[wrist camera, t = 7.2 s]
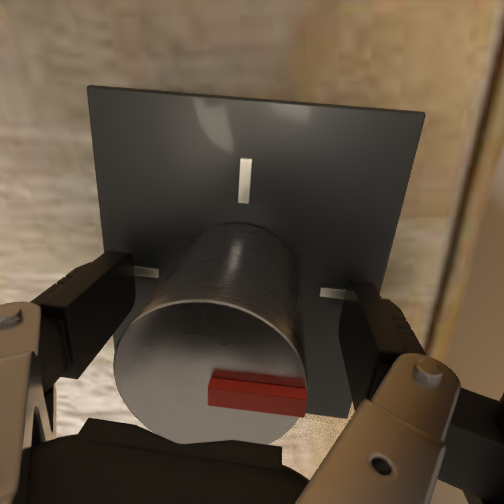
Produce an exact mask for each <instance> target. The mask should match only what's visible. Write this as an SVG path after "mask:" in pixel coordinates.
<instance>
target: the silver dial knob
mask: <svg viewBox="0 0 504 504" xmlns="http://www.w3.org/2000/svg"><path fill="white" fill-rule="evenodd" d="M113 367H114V377H115V382H116V385H117V388H118V391H119V393H120V395H121V397H122V399H123V401H124V403H125V404H126V405H127V407H128V408H129V410H130V411H131V412H132V413H133V414H134V415H135V417H136V418H137V419H138V420H139V421H140V422H142V423H143V424H144V425H145V426H146V427H147V428H149V429H150V430H152V431H153V432H154V433H156V434H158V435H159V436H162V437H164V438H166V439H169V440H171V441H173V442H176V443H179V444H190V443H201V442H212V441H224V440H239V441H246V442H252V443H259V444H265V445H268V444H270V443H272V442H274V441H275V440H277V439H279V438H280V437H282V436H283V435H284V434H285V433H286V432H288V431H289V430H290V429H291V427H292V426H293V425H294V424H295V423H296V421H297V420H298V418H299V417H302V418H303V417H304V416H305V411H306V405H307V399H308V398H307V395H308V376H307V362H306V349H305V335H304V321H303V308H302V294H301V280H300V272H299V268H298V265H297V262H296V260H295V258H294V256H293V254H292V253H291V251H290V250H289V249H288V247H287V246H286V245H285V244H284V243H283V242H282V241H281V240H280V239H278V238H277V237H276V236H274V235H273V234H271V233H270V232H268V231H266V230H264V229H261V228H259V227H256V226H252V225H248V224H241V223H230V224H223V225H218V226H215V227H212V228H210V229H207V230H206V231H204V232H202V233H200V234H199V235H198V236H196V237H195V238H194V239H193V240H192V241H191V242H190V243H189V245H188V246H187V247H186V249H185V250H184V251H183V253H182V254H181V255H180V257H179V258H178V259H177V261H176V262H175V263H174V265H173V266H172V267H171V269H170V270H169V272H168V273H167V274H166V276H165V277H164V278H163V280H162V281H161V282H160V284H159V285H158V286H157V288H156V289H155V290H154V292H153V293H152V294H151V296H150V297H149V299H148V300H147V301H146V303H145V304H144V305H143V307H142V308H141V309H140V311H139V312H138V313H137V315H136V316H135V317H134V319H133V320H132V321H131V323H130V324H129V326H128V327H127V328H126V330H125V331H124V332H123V334H122V335H121V337H120V339H119V341H118V343H117V347H116V350H115V354H114V363H113Z"/></svg>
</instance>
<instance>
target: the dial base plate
mask: <svg viewBox="0 0 504 504" xmlns="http://www.w3.org/2000/svg"><path fill="white" fill-rule="evenodd" d="M87 95H88V104H89V114H90V123H91V133H92V142H93V151H94V161H95V170H96V180H97V189H98V199H99V208H100V217H101V227H102V236H103V246H104V253H105V252H106V251H108V250H111V251H119V252H128V253H131V254H132V255H133V258H134V270H135V288H136V298H135V303H134V306H133V309H132V310H131V312H130V313H129V314H128V316H127V317H126V318H125V320H124V321H123V322H122V323H121V325H120V326H119V327H118V328H117V330H116V331H115V332H114V334H113V340H114V349H115V350H116V347H117V343H118V341H119V339H120V337H121V335H122V334H123V332H124V331H125V330H126V328H127V327H128V326H129V324H130V323H131V321H132V320H133V319H134V317H135V316H136V315H137V313H138V312H139V311H140V309H141V308H142V307H143V305H144V304H145V303H146V301H147V300H148V299H149V297H150V296H151V294H152V293H153V292H154V290H155V289H156V288H157V286H158V285H159V284H160V282H161V281H162V280H163V278H164V277H165V276H166V274H167V273H168V272H169V270H170V269H171V267H172V266H173V265H174V263H175V262H176V261H177V259H178V258H179V257H180V255H181V254H182V253H183V251H184V250H185V249H186V247H187V246H188V245H189V243H190V242H191V241H192V240H193V239H194V238H195V237H196V236H198V235H199V234H200V233H202V232H204V231H206V230H207V229H210V228H212V227H215V226H218V225H223V224H230V223H241V224H248V225H252V226H256V227H259V228H261V229H264V230H266V231H268V232H270V233H271V234H273V235H274V236H276V237H277V238H278V239H280V240H281V241H282V242H283V243H284V244H285V245H286V246H287V247H288V249H289V250H290V251H291V253H292V254H293V256H294V258H295V260H296V262H297V265H298V268H299V272H300V280H301V294H302V308H303V321H304V335H305V349H306V362H307V376H308V395H307V398H308V399H307V405H306V411H305V413H308V414H315V415H322V416H330V417H337V418H344V419H346V418H348V414H349V411H350V407H351V403H352V396H351V392H350V387H349V383H348V378H347V374H346V369H345V365H344V360H343V356H342V351H341V347H340V342H339V336H338V327H339V320H340V315H341V311H342V306H343V302H344V298H345V293H346V289H347V285H348V282H349V281H350V280H355V281H363V282H371V283H374V284H375V286H376V288H377V290H378V292H379V294H380V290H381V286H382V282H383V279H384V275H385V271H386V267H387V263H388V259H389V255H390V251H391V248H392V244H393V240H394V236H395V232H396V228H397V224H398V220H399V216H400V213H401V209H402V205H403V201H404V197H405V193H406V189H407V185H408V182H409V178H410V174H411V170H412V166H413V162H414V158H415V154H416V150H417V147H418V143H419V139H420V135H421V131H422V127H423V123H424V119H425V113H424V112H420V111H408V110H395V109H383V108H370V107H358V106H345V105H333V104H320V103H308V102H295V101H283V100H270V99H258V98H245V97H233V96H220V95H208V94H195V93H183V92H170V91H158V90H145V89H133V88H120V87H108V86H95V85H89V86H87Z"/></svg>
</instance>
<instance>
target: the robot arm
mask: <svg viewBox="0 0 504 504" xmlns="http://www.w3.org/2000/svg"><path fill="white" fill-rule="evenodd" d="M135 298H136V288H135V270H134V258H133V255H132V254H131V253H128V252H119V251H111V250H108V251H106V252H105V253H104V254H102V255H101V256H100V257H98V258H97V259H96V260H95V261H93V262H90V263H87V264H85V265H82V266H80V267H77V268H75V269H74V270H73V271H71V272H70V273H69V274H67V275H66V277H63V278H62V279H61V280H59V281H58V282H57V284H54V285H52V286H51V287H50V288H48V289H47V290H46V291H44V292H43V293H42V294H40V295H39V296H38V297H36V298H35V299H34V300H32V301H31V302H12V303H6V304H2V305H0V504H430V502H431V498H432V495H433V491H434V488H435V484H436V481H437V479H439V480H441V481H443V482H446V483H448V484H450V485H452V486H455V487H457V488H459V489H461V490H463V492H464V495H465V497H466V499H467V501H468V503H469V504H504V393H503V395H502V397H501V399H500V401H497V400H494V399H491V398H488V397H485V396H482V395H479V394H477V393H474V392H471V391H468V390H466V389H463V388H461V385H460V381H459V379H458V377H457V376H456V374H455V373H454V372H453V371H452V370H451V369H450V368H448V367H447V366H446V365H444V364H443V363H441V362H439V361H438V360H436V359H434V358H431V357H429V356H427V355H426V353H425V352H424V350H423V348H422V346H421V345H420V343H419V341H418V339H417V337H416V336H415V334H414V332H413V330H411V327H410V325H409V323H408V322H407V321H406V318H405V316H404V314H403V313H402V311H401V309H400V308H399V307H397V306H396V305H395V304H394V303H393V302H391V301H390V300H389V299H382V298H381V296H380V294H379V292H378V290H377V288H376V286H375V284H374V283H371V282H363V281H355V280H350V281H349V282H348V285H347V289H346V293H345V298H344V302H343V306H342V311H341V315H340V320H339V327H338V336H339V342H340V347H341V351H342V356H343V360H344V365H345V369H346V374H347V378H348V383H349V387H350V392H351V396H352V401H353V405H354V410H355V413H354V414H353V416H352V417H351V419H350V420H349V422H348V423H347V425H346V426H345V428H344V429H343V431H342V432H341V434H340V436H339V437H338V439H337V440H336V442H335V443H334V445H333V446H332V448H331V449H330V451H329V452H328V454H327V455H326V457H325V458H324V460H323V461H322V463H321V464H320V466H319V467H318V469H317V470H316V472H315V474H314V475H313V477H312V478H311V480H308V479H307V478H306V477H304V476H303V475H301V474H300V473H298V472H296V471H294V470H293V469H291V468H289V467H287V466H284V465H282V447H279V446H272V445H265V444H259V443H252V442H246V441H239V440H224V441H212V442H201V443H190V444H179V443H176V442H173V441H171V440H169V439H166V438H164V437H162V436H159V435H157V434H155V433H153V432H150V431H148V430H146V429H143V428H141V427H139V426H137V425H133V424H126V423H120V422H113V421H107V420H100V419H93V418H88V420H87V421H86V423H85V424H84V426H83V427H82V429H81V430H80V432H79V433H78V434H76V435H69V436H64V437H59V438H56V387H55V382H56V381H57V380H58V379H59V378H60V377H65V378H72V379H78V378H79V377H80V376H81V374H82V373H83V372H84V371H85V369H86V368H87V367H88V366H89V364H90V363H91V362H92V360H93V359H94V358H95V357H96V355H97V354H98V353H99V351H100V350H101V349H102V348H103V346H104V345H105V344H106V343H107V341H108V340H109V339H110V337H111V336H112V335H113V334H114V332H115V331H116V330H117V328H118V327H119V326H120V325H121V323H122V322H123V321H124V320H125V318H126V317H127V316H128V314H129V313H130V312H131V310H132V309H133V306H134V303H135Z"/></svg>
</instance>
